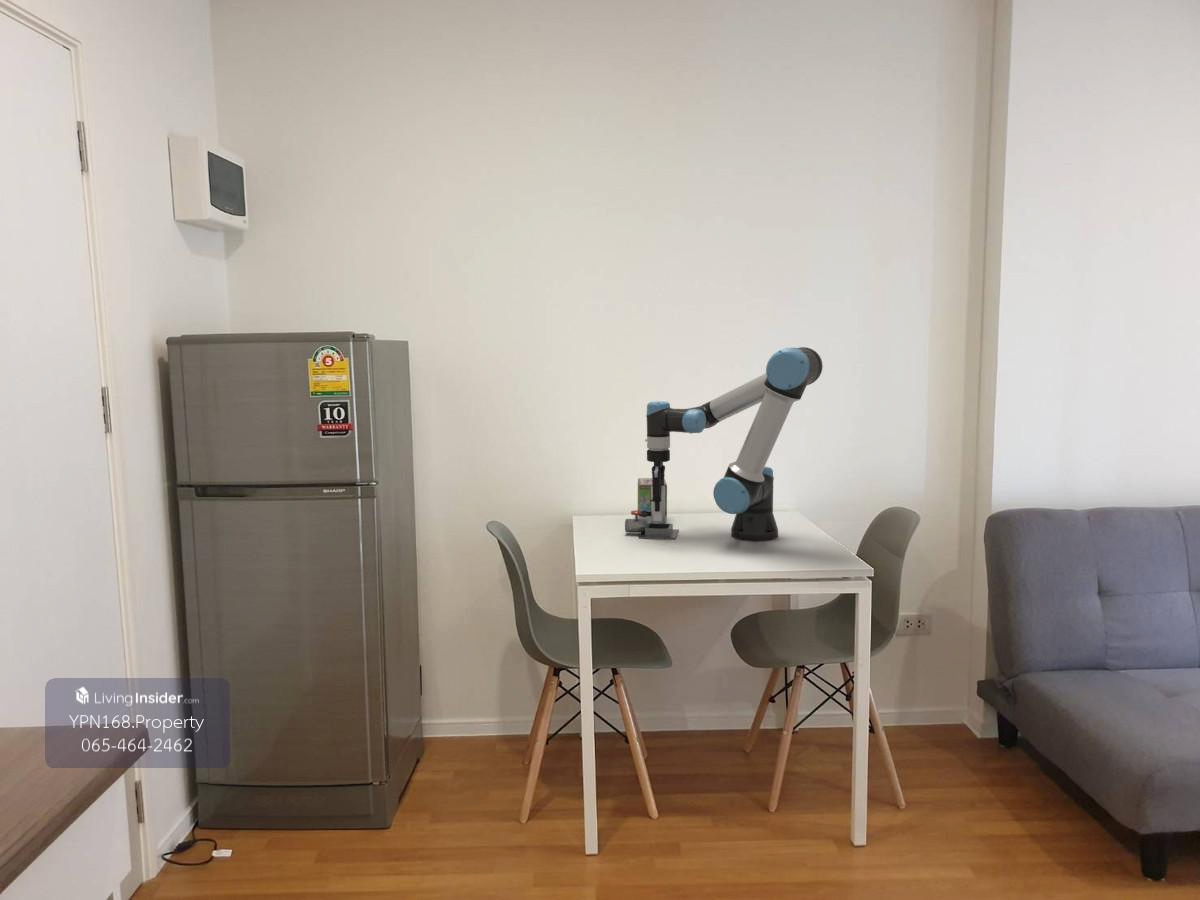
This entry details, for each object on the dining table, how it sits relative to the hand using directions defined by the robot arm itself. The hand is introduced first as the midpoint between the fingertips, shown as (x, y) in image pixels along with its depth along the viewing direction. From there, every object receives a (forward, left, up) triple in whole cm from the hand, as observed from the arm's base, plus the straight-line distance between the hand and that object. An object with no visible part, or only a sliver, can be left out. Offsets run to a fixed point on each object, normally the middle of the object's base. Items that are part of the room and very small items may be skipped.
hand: (658, 518), depth 282 cm
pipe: (0, 0, -1) cm, 1 cm away
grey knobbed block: (+2, 0, -5) cm, 6 cm away
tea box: (+5, -20, -6) cm, 21 cm away
